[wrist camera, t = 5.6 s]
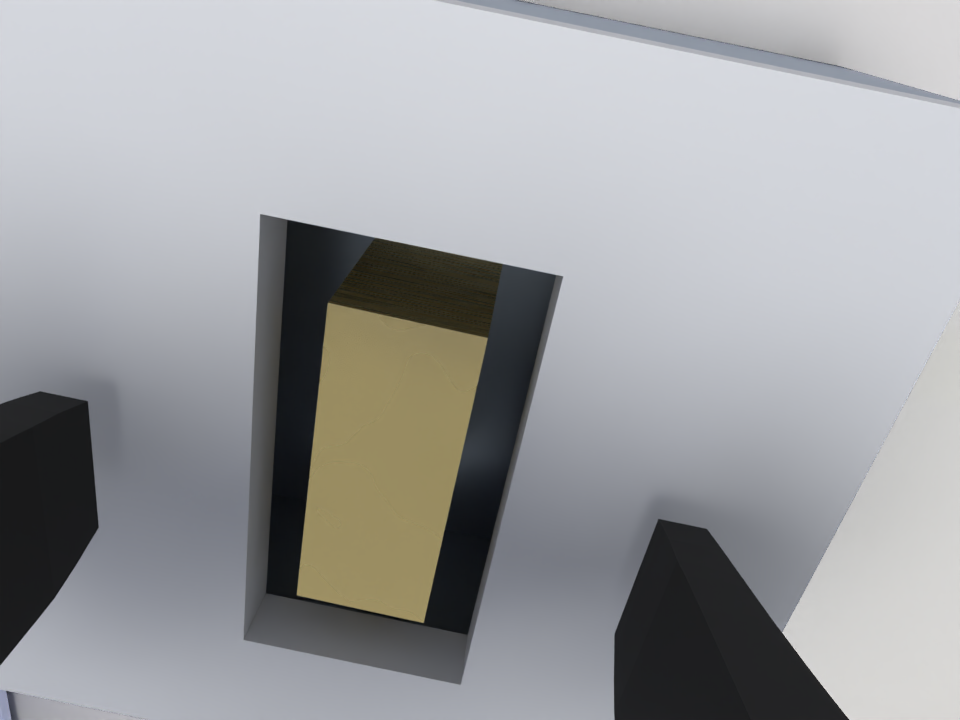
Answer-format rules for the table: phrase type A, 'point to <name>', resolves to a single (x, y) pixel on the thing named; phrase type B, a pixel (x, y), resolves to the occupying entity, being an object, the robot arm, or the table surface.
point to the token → (392, 424)
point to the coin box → (511, 341)
